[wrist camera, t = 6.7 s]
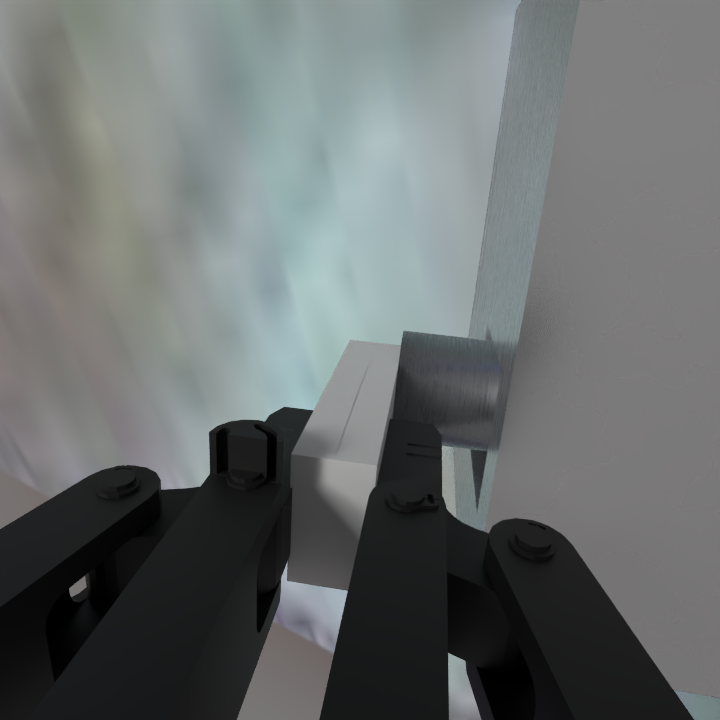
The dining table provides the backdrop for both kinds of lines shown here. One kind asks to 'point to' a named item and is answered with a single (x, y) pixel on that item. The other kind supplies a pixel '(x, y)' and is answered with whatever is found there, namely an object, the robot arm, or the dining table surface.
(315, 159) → the dining table surface
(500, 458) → the grey box
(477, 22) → the dining table surface
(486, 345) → the axle
